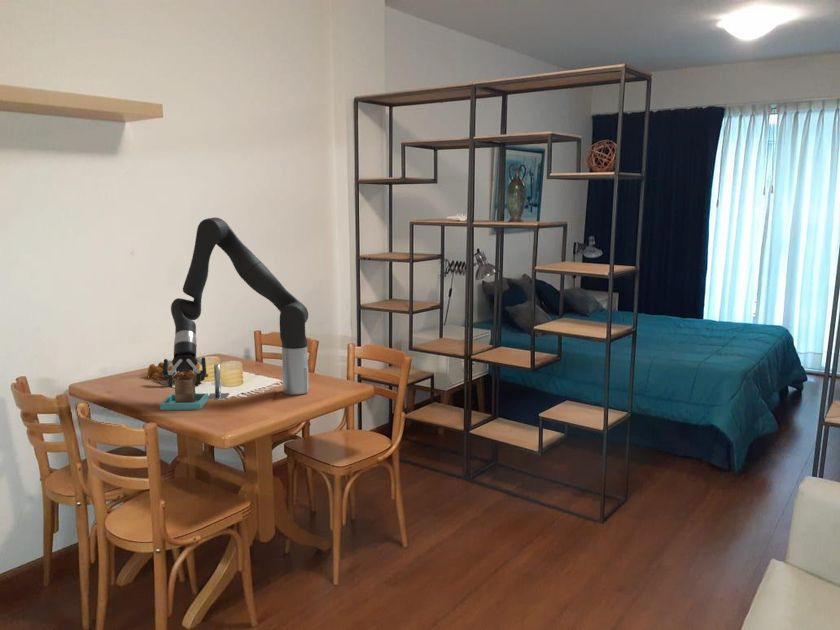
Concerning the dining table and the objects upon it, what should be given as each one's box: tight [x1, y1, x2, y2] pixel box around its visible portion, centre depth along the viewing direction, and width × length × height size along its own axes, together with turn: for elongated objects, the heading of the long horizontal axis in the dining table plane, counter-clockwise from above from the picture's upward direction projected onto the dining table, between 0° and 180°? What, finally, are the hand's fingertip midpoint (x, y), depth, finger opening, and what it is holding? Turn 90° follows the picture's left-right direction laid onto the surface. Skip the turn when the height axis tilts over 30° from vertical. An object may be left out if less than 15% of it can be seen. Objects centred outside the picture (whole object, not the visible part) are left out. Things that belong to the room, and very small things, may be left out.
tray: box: [159, 392, 209, 411], centre depth 224 cm, size 13×12×3 cm
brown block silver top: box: [208, 363, 230, 400], centre depth 234 cm, size 7×7×12 cm
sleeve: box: [174, 376, 196, 403], centre depth 224 cm, size 6×6×9 cm
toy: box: [147, 361, 209, 383], centre depth 257 cm, size 20×7×30 cm
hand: (184, 385), depth 224 cm, fingers open, 8 cm apart
